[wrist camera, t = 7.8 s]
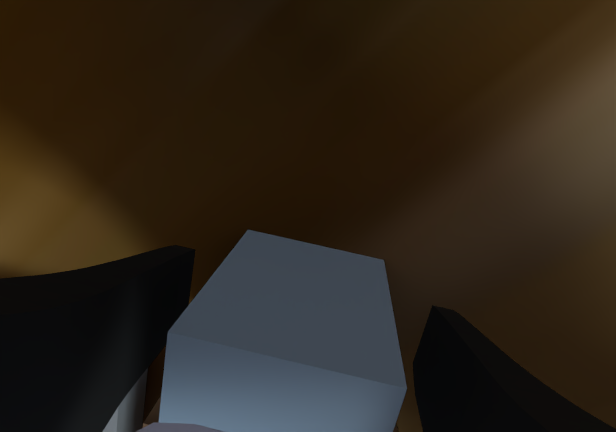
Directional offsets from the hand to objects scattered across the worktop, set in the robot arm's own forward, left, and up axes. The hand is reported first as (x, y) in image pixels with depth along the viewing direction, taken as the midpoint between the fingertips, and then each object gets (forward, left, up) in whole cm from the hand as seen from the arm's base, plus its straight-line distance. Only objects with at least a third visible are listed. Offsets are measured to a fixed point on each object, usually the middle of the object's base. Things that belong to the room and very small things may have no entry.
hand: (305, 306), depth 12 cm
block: (0, +1, -2) cm, 2 cm away
